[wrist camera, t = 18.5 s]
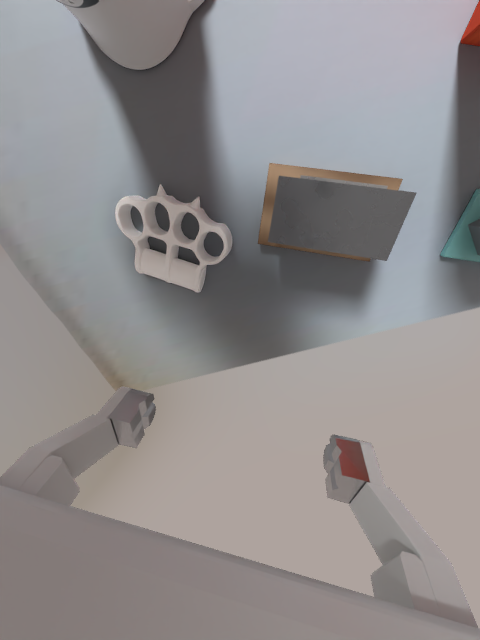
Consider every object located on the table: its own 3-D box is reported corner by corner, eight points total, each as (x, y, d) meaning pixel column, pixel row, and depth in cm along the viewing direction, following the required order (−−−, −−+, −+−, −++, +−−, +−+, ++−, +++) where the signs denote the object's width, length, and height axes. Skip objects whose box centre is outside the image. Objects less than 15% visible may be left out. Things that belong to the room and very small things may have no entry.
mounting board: (270, 164, 31) (269, 163, 30) (397, 179, 29) (402, 179, 28) (259, 241, 36) (257, 243, 35) (366, 258, 34) (369, 261, 33)
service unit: (283, 176, 30) (279, 171, 21) (380, 188, 29) (418, 188, 20) (273, 230, 33) (267, 244, 25) (360, 243, 32) (385, 263, 23)
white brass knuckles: (127, 262, 43) (128, 171, 35) (220, 294, 42) (241, 207, 34) (115, 268, 40) (113, 169, 32) (215, 301, 39) (237, 209, 32)
